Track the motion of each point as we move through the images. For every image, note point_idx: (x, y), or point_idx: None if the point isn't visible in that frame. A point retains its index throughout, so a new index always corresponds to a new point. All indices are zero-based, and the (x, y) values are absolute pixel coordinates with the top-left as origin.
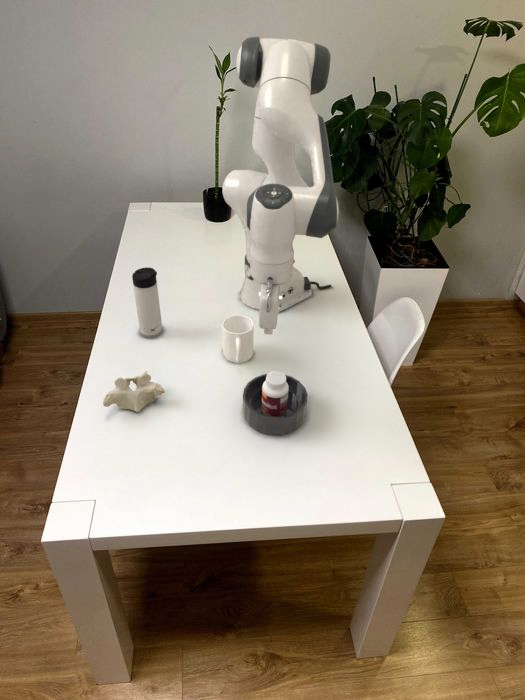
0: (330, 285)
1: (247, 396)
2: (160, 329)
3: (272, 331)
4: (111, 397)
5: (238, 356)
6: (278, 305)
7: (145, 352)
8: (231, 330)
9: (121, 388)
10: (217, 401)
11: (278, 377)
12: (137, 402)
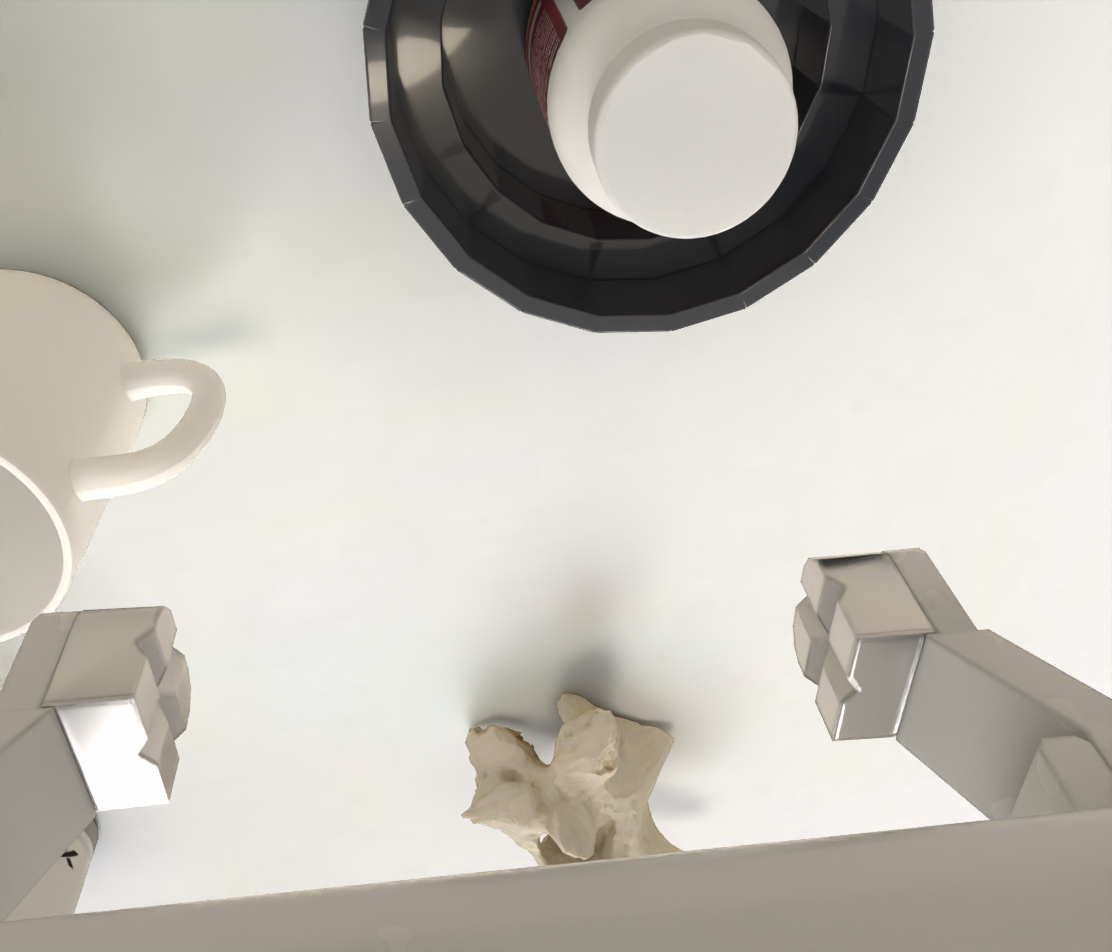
0: None
1: (579, 273)
2: None
3: (942, 580)
4: None
5: (218, 418)
6: (858, 918)
7: (218, 805)
8: None
9: None
10: (544, 417)
11: (696, 117)
12: (649, 770)
